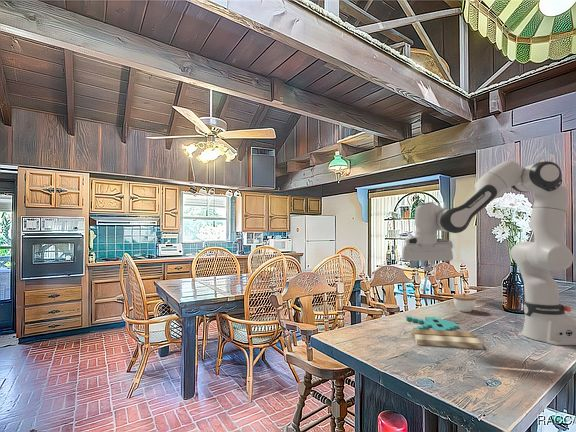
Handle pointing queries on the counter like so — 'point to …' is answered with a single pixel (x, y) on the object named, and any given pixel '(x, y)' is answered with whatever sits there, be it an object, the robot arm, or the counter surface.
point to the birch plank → (448, 341)
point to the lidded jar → (464, 302)
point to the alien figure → (433, 323)
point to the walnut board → (443, 333)
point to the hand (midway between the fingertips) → (427, 271)
